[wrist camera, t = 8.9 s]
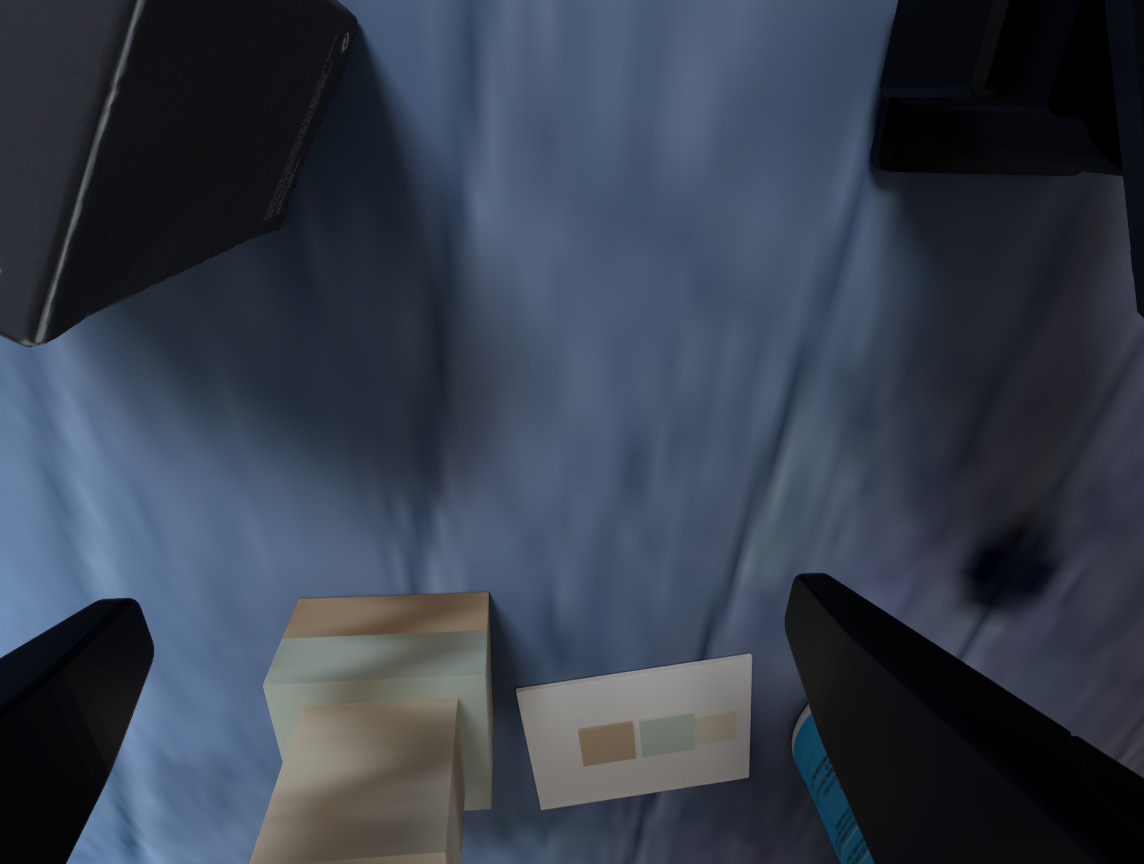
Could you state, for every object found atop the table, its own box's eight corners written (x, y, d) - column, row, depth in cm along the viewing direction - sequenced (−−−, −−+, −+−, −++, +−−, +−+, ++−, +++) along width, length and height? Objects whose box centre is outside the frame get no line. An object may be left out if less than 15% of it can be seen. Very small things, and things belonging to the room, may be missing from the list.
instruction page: (750, 653, 28) (753, 658, 27) (747, 773, 31) (749, 779, 31) (515, 688, 27) (516, 694, 27) (541, 806, 31) (541, 812, 31)
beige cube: (457, 697, 22) (445, 851, 17) (464, 793, 24) (455, 951, 19) (302, 706, 21) (247, 866, 17) (324, 803, 23) (282, 967, 19)
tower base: (488, 591, 25) (485, 674, 21) (493, 718, 28) (491, 809, 24) (298, 599, 24) (262, 685, 21) (325, 728, 27) (298, 822, 24)
